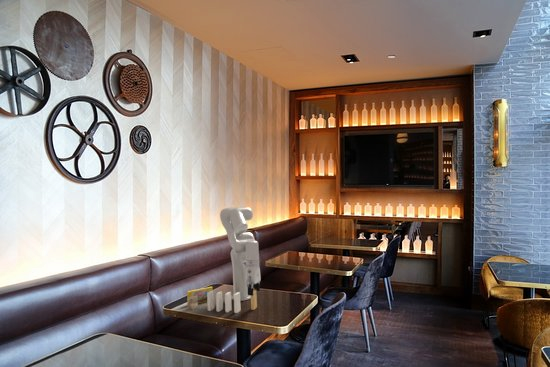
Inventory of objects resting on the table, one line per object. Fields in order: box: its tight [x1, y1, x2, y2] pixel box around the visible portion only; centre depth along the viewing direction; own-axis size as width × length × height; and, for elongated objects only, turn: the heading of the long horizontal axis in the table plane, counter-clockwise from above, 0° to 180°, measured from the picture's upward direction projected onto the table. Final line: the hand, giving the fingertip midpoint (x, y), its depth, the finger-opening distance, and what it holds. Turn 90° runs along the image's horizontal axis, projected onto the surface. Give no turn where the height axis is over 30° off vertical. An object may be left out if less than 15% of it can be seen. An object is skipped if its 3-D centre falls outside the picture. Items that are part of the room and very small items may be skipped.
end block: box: [187, 296, 199, 311], centre depth 228 cm, size 3×6×6 cm, turn 161°
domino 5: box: [250, 289, 258, 311], centre depth 224 cm, size 2×5×10 cm, turn 161°
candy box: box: [186, 286, 214, 306], centre depth 239 cm, size 16×2×8 cm, turn 126°
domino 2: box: [215, 290, 224, 313], centre depth 223 cm, size 2×5×10 cm, turn 161°
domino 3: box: [224, 291, 233, 313], centre depth 221 cm, size 2×5×10 cm, turn 161°
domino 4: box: [233, 292, 242, 314], centre depth 219 cm, size 2×5×10 cm, turn 161°
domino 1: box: [206, 290, 215, 312], centre depth 225 cm, size 2×5×10 cm, turn 161°
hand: (253, 293), depth 223 cm, fingers open, 9 cm apart
